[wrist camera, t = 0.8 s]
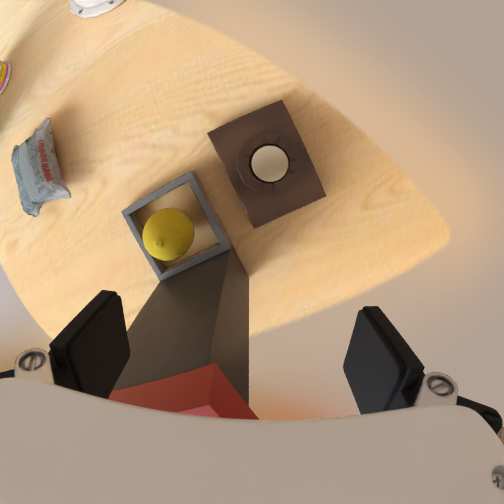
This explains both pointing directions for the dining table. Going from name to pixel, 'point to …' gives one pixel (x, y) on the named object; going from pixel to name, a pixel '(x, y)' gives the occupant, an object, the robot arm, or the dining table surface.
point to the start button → (270, 163)
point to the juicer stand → (190, 328)
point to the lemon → (168, 234)
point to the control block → (240, 163)
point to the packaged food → (38, 170)
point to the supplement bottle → (4, 75)
